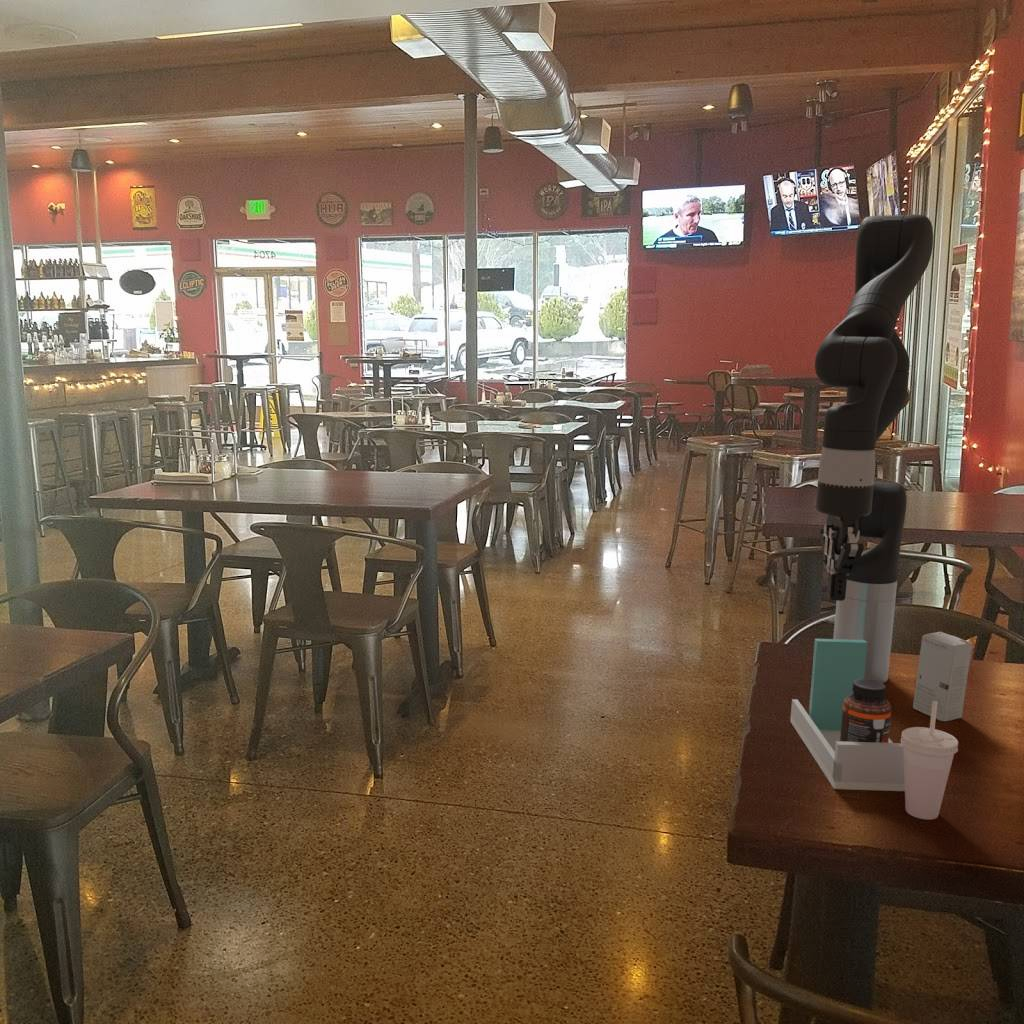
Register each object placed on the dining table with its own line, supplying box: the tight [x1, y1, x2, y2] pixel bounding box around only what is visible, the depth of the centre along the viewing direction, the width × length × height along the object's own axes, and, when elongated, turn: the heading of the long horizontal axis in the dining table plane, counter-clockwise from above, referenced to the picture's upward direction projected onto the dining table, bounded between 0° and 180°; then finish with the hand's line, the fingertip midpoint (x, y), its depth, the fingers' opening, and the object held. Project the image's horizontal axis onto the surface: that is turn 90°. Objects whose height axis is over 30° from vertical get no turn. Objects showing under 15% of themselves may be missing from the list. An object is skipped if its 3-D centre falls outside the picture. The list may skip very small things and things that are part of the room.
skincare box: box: [912, 631, 973, 722], centre depth 151 cm, size 6×4×12 cm
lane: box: [790, 698, 905, 792], centre depth 136 cm, size 22×10×6 cm, turn 179°
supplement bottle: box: [840, 679, 892, 743], centre depth 130 cm, size 6×6×11 cm
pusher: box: [808, 638, 867, 729], centre depth 141 cm, size 1×7×13 cm, turn 89°
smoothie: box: [900, 701, 959, 821], centre depth 119 cm, size 6×6×14 cm
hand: (835, 599), depth 143 cm, fingers closed
